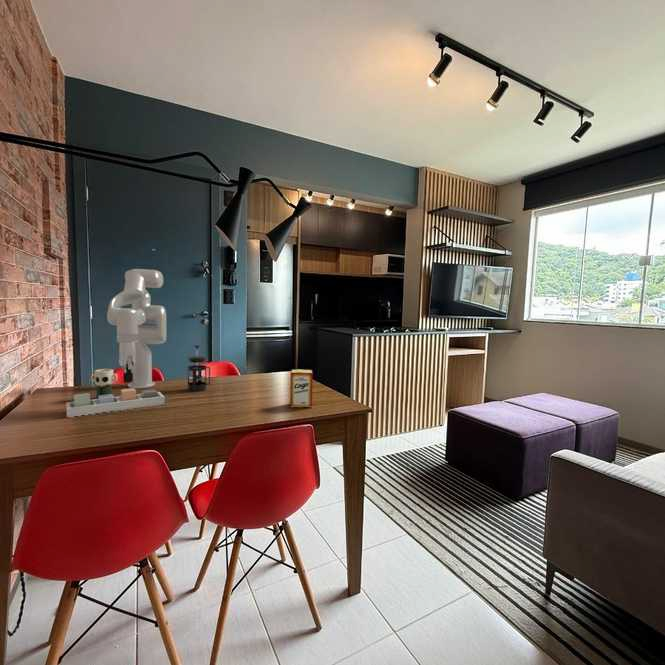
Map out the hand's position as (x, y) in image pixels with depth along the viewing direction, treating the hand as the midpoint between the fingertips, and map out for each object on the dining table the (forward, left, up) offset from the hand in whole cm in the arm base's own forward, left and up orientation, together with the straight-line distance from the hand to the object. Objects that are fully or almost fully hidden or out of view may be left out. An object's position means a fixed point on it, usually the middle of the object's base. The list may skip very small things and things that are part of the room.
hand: (128, 381), depth 148 cm
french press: (-14, +33, -11) cm, 38 cm away
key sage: (0, -16, -8) cm, 18 cm away
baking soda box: (+38, +62, -11) cm, 73 cm away
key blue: (0, -8, -9) cm, 12 cm away
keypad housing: (0, -4, -11) cm, 11 cm away
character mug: (-19, -7, -11) cm, 23 cm away
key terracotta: (0, 0, -7) cm, 8 cm away
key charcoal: (0, +8, -9) cm, 12 cm away
